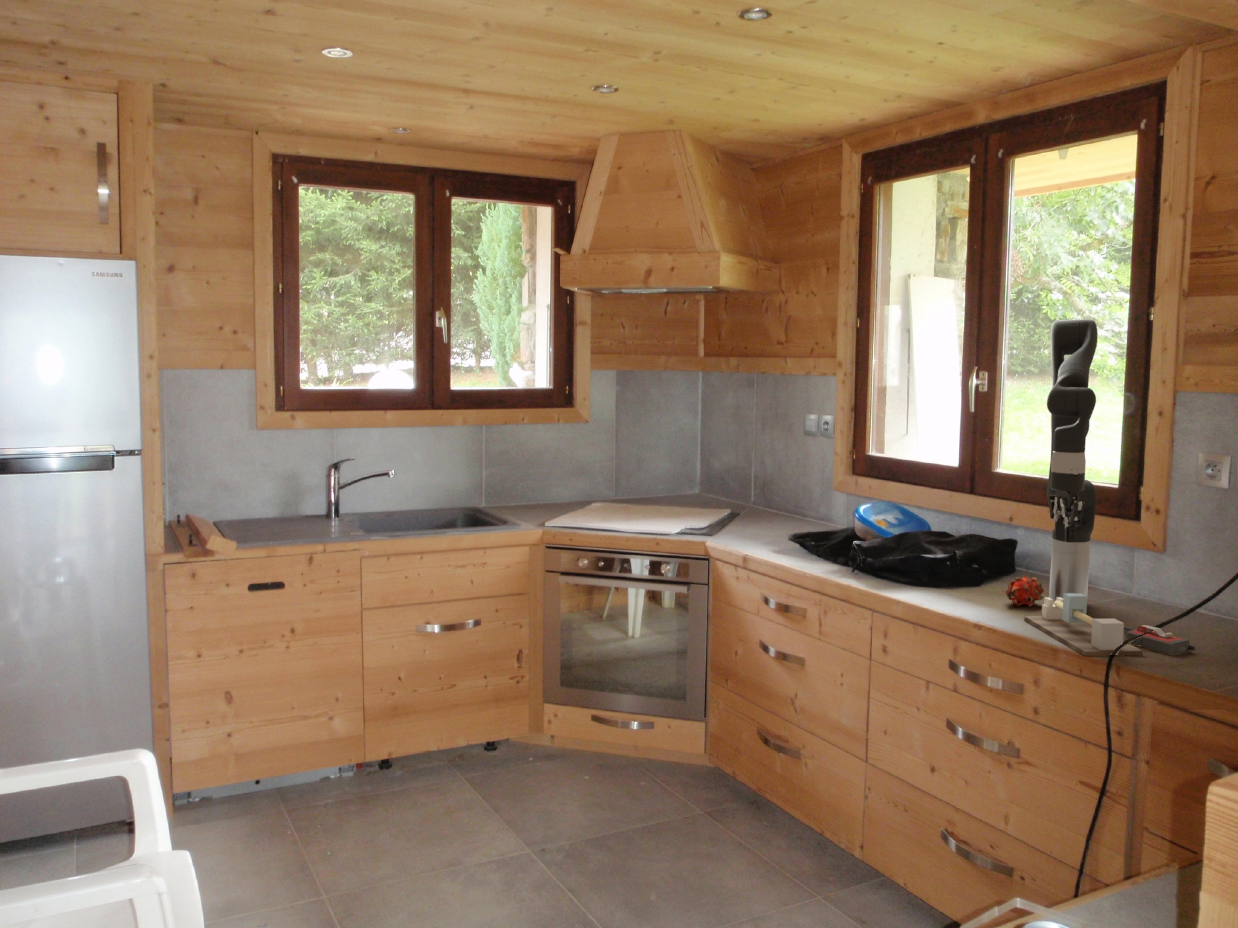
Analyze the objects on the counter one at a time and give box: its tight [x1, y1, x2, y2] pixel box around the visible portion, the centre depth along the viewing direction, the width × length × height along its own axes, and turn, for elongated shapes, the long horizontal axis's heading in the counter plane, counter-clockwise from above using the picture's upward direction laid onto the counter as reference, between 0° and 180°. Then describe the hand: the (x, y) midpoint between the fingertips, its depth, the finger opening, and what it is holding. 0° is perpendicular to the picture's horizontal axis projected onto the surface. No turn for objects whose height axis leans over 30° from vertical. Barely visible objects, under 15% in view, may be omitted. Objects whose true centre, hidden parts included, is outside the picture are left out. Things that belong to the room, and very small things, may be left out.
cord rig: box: [1041, 596, 1125, 650], centre depth 233 cm, size 28×5×6 cm, turn 2°
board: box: [1023, 615, 1144, 657], centre depth 233 cm, size 30×13×1 cm, turn 2°
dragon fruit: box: [1005, 574, 1045, 608], centre depth 263 cm, size 8×8×12 cm
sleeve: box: [1062, 593, 1088, 623], centre depth 236 cm, size 3×4×6 cm
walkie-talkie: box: [1124, 624, 1196, 656], centre depth 228 cm, size 9×4×20 cm
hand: (1064, 539), depth 241 cm, fingers open, 4 cm apart
